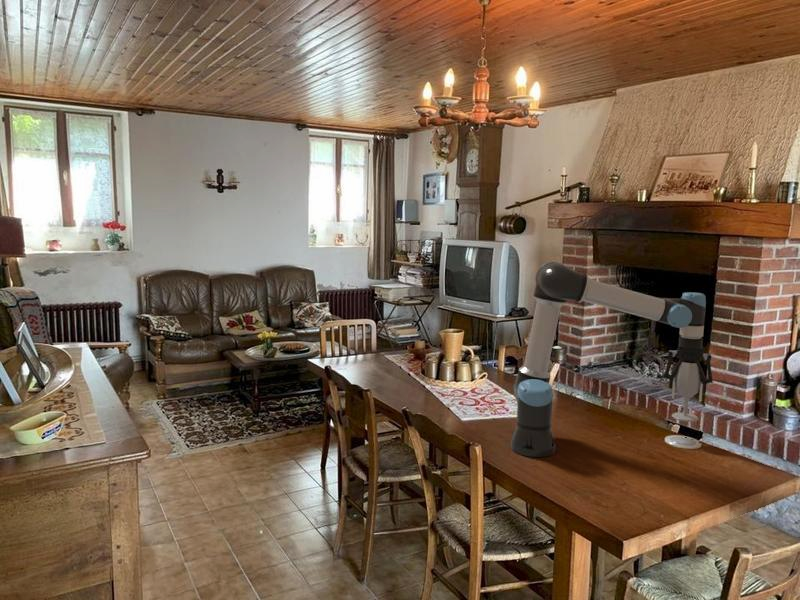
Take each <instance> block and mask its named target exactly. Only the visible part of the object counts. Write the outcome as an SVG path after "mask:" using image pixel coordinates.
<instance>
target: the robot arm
mask: <svg viewBox="0 0 800 600" xmlns="http://www.w3.org/2000/svg"><path fill="white" fill-rule="evenodd" d="M534 287H535V288H534V292H533V299H534V300H535V301H536V304H535V308H534V315H533V320H532V324H531V330H530V334H529V338H528V343H527V349H526V354H525V359H524V362H523V365H522V366H521V367H519V368H518V371H517V376H516V378H515V381H514V383H513V388H512V391H513V395H514V397H515V401H516V406H517V408H516V427H515V429H514V432H513V435H512V438H511V441H510V449H511V450H512V451H513V452H515V453H516V454H518V455H522V456H526V457H530V458H546V457H550V456H552V455H554V454H556V443H555V439H554V436H553V432H552V413H553V412H552V411H553V397H554V393H553V387H552V385H551V384H550V379H551V377H552V376H551V374H550V373H549V371H548V369H549V366H550V365H549V364H550V360H551V356H552V351H553V350H552V349H553V346H554V340H555V336H556V331H557V327H558V322H559V318H560V312H561V308H562V307H563V306H565V305H566V303H567V301H571V302H575V303H578V304H580V303H582V302H585V303H589V304H592V305H593V304H594V305H596V306H600V307H605V308H607V309H612V310H616V311H618V312H623V313H627V314H630V315H634V316H637V317H641V318H644V319H649V320H651V321H655V322H658V323H662V324H666V325H670V326H671V327H673V328H678V329H679V337H678V348H677V349H676V350H671V349H670V350H669V351H668V361H667V364H666V368H665V370H664V376H663V377H664V378H666V379H668V380H669V381H668V388H669V389H670V390H671V389H672V390H671V399H675V393H676V389H675V388H676V385H675V377H676V374H677V372H678V369H679V366H680V364H681V363H682V362H684V363H688V362H690V363H697V366H698V368H699V374H700V377H701V382H700V388H699V395H698V403H702V400H703V393H706V392H707V384H711V383H713V373H712V366H711V361H712V354H711V353H704V352H703V343H704V342H703V341H704V339H703V337H704V329H705V316H706V308H707V307H706V306H707V305H706V304H707V299H706V297H707V296H706V295H705V294H704V293H701V292H691V291H689V292H688V291H687V292H682V296H681V297H679V298H671V297H670V298H669V297H668V298H667V297H656V296H653V295H648V294H645V293H641V292H638V291H634V290H630V289H627V288H623V287H620V286H616V285H612V284H608V283H605V282H602V281H597V280H593V279H591V278H590V277H589V275H587V274H583V273H581V272H577V271H576V270H573V269H571V268H569V267H568V266H566V265H564V264H563V263H561V262H557V261H551V262H550V261H549V262H547V263H546V262H545V263H543V265H541V266H540V268H538V270H537V272H536V274H535V286H534ZM676 355H678V357H679V361H678V362H677V364H676V365H675V367H674V369H673V371H672V372H671V373H670V369H671V367H672V364H673V363H672V362H673V359H674V357H676ZM702 357H703V360H705V362H706V370H707V376H708V378H706V376H705V374H704V370H703V369H702V366H701V364H700V361H699V360H700V359H702Z"/></svg>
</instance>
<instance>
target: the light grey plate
mask: <svg viewBox="0 0 800 600" xmlns="http://www.w3.org/2000/svg"><path fill="white" fill-rule="evenodd" d="M685 437H687V438H685ZM692 439H693V440H692ZM664 442H665V443H666V444H667V445H668V446H669V445H670V446H671V447H674V448H679V449H683V450H697V449H701V447H702V442H701V441H700V440H698V439H696V438H693V437H690V436H687V435H686V436H685V435H679V434H678V435H677V434H675V435H674V434H673V435H667V436H665V437H664ZM699 442H701V443H699Z"/></svg>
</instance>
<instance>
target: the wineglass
mask: <svg viewBox="0 0 800 600" xmlns="http://www.w3.org/2000/svg"><path fill="white" fill-rule="evenodd" d="M674 379H675V388H676V389H675V391H677V392H678V393H679V395H680V396H681V397H682V398H683V412H674V413H672V414H671V417H672V418H673V419H674V420H677V421H681V422H684V423H685V422H686V423H689V422H690V423H696V422H697V421H699V417H698V416H697V415H695V414H694V413H693V414H692V413H689V412H688V411H689V399H691V398H692V397H694V396H695V395H697V394H698V392H699V391H700V382H702V379H701V377H700V374H699V368H698V366H697V363H690V362H688V363H684V362H682V363H681V364H680V366H679V369H678V372H677V374H676V375H675V377H674Z"/></svg>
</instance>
